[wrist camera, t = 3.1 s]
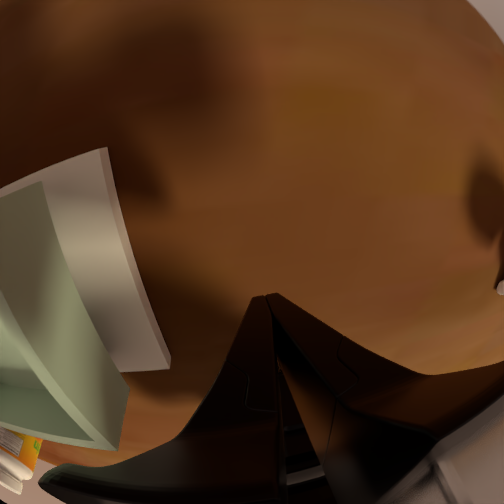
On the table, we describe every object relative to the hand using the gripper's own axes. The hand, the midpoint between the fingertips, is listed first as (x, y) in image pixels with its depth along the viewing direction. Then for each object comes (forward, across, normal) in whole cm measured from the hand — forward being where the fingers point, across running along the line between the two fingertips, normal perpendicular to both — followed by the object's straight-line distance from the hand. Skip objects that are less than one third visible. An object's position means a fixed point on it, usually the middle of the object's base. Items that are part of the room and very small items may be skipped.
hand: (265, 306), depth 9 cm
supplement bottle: (+5, +26, +14) cm, 29 cm away
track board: (+5, +20, 0) cm, 20 cm away
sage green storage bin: (+4, +13, 0) cm, 13 cm away
